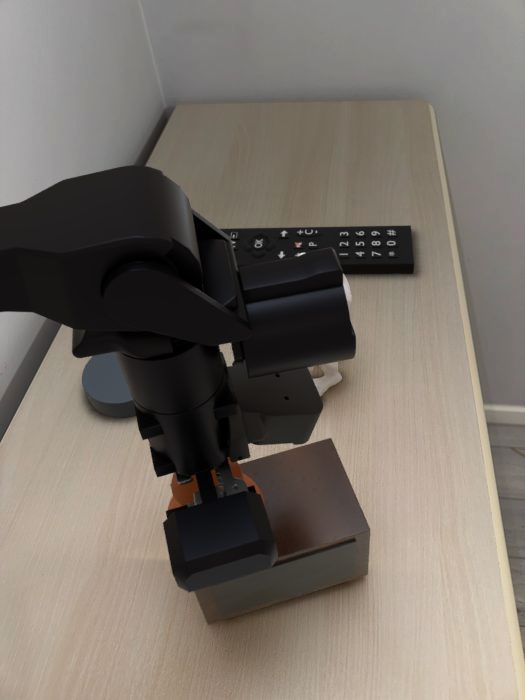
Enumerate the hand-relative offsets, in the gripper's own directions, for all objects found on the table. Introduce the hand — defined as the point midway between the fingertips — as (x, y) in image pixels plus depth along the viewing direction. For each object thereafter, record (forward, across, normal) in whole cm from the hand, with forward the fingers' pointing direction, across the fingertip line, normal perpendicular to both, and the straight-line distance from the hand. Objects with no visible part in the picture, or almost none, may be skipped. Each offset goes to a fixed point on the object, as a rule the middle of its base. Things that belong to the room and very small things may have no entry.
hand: (214, 507), depth 51 cm
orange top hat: (+1, 0, 0) cm, 1 cm away
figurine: (+11, +20, -15) cm, 27 cm away
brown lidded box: (+11, 0, -4) cm, 12 cm away
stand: (+11, +24, +6) cm, 28 cm away
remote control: (+11, +40, -17) cm, 44 cm away
